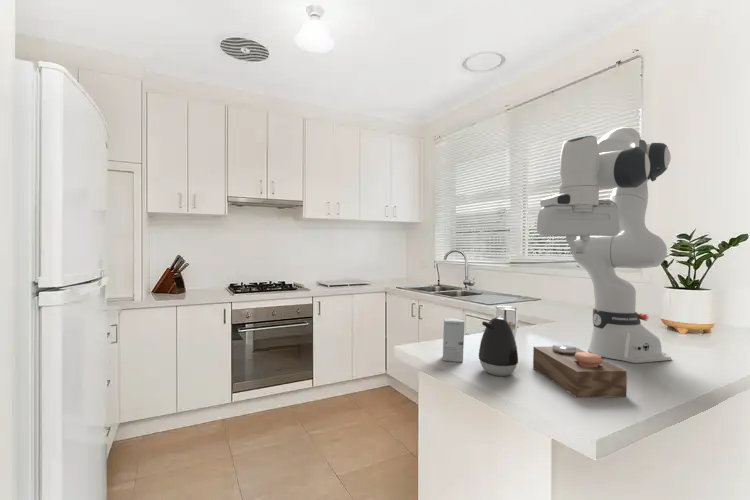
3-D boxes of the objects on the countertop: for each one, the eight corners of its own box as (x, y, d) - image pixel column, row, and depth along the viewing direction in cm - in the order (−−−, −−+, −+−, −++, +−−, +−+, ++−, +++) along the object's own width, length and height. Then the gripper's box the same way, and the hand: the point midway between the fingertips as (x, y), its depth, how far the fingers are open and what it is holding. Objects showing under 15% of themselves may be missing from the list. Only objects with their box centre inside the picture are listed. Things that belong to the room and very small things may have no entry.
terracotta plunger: (591, 371, 91) (591, 352, 91) (606, 380, 85) (607, 359, 85) (569, 371, 90) (570, 352, 90) (584, 380, 85) (584, 359, 85)
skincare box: (442, 361, 107) (443, 320, 107) (442, 356, 112) (443, 317, 112) (464, 362, 107) (464, 321, 106) (462, 357, 111) (463, 318, 111)
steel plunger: (567, 362, 101) (568, 344, 101) (580, 369, 95) (580, 350, 95) (548, 362, 100) (548, 344, 100) (559, 369, 95) (560, 350, 95)
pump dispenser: (470, 368, 101) (471, 315, 101) (500, 364, 105) (500, 312, 104) (494, 381, 91) (495, 322, 91) (526, 376, 95) (527, 319, 95)
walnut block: (573, 367, 103) (574, 346, 103) (626, 396, 83) (626, 371, 83) (533, 367, 102) (533, 346, 102) (576, 397, 83) (577, 371, 82)
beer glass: (518, 359, 110) (519, 310, 110) (495, 357, 112) (495, 309, 111) (514, 352, 117) (515, 306, 117) (492, 350, 118) (493, 305, 118)
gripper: (608, 201, 96) (607, 253, 96) (534, 200, 95) (533, 252, 95) (626, 198, 90) (625, 254, 90) (547, 197, 88) (546, 253, 89)
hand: (577, 253), depth 92 cm, fingers closed
